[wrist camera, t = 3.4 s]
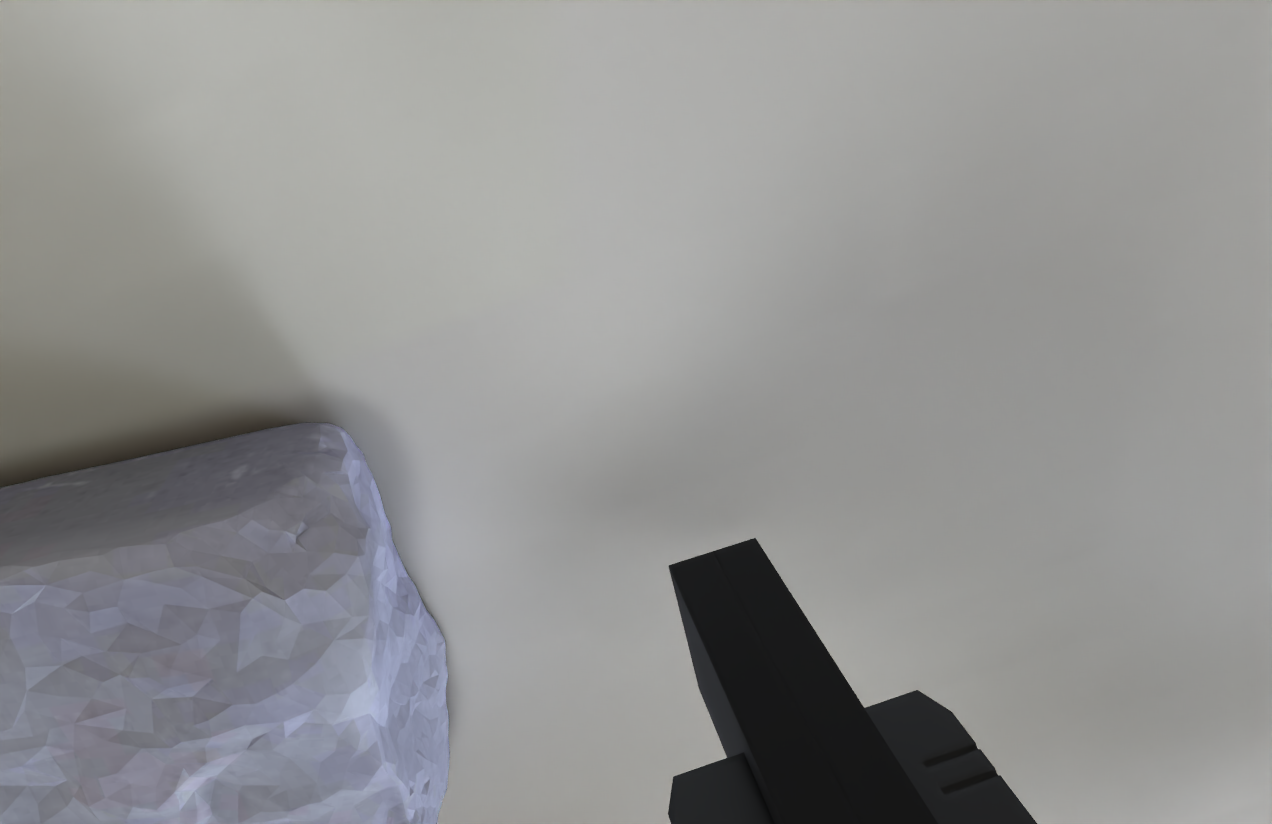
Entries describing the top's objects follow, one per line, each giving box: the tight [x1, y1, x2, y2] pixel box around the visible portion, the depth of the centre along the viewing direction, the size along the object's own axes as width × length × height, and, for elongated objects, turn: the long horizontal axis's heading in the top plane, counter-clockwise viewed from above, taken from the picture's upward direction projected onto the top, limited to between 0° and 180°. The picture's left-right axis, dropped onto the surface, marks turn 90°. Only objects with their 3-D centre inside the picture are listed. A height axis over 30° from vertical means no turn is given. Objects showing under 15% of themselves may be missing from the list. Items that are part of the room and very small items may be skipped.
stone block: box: [0, 423, 450, 824], centre depth 16 cm, size 12×5×10 cm
